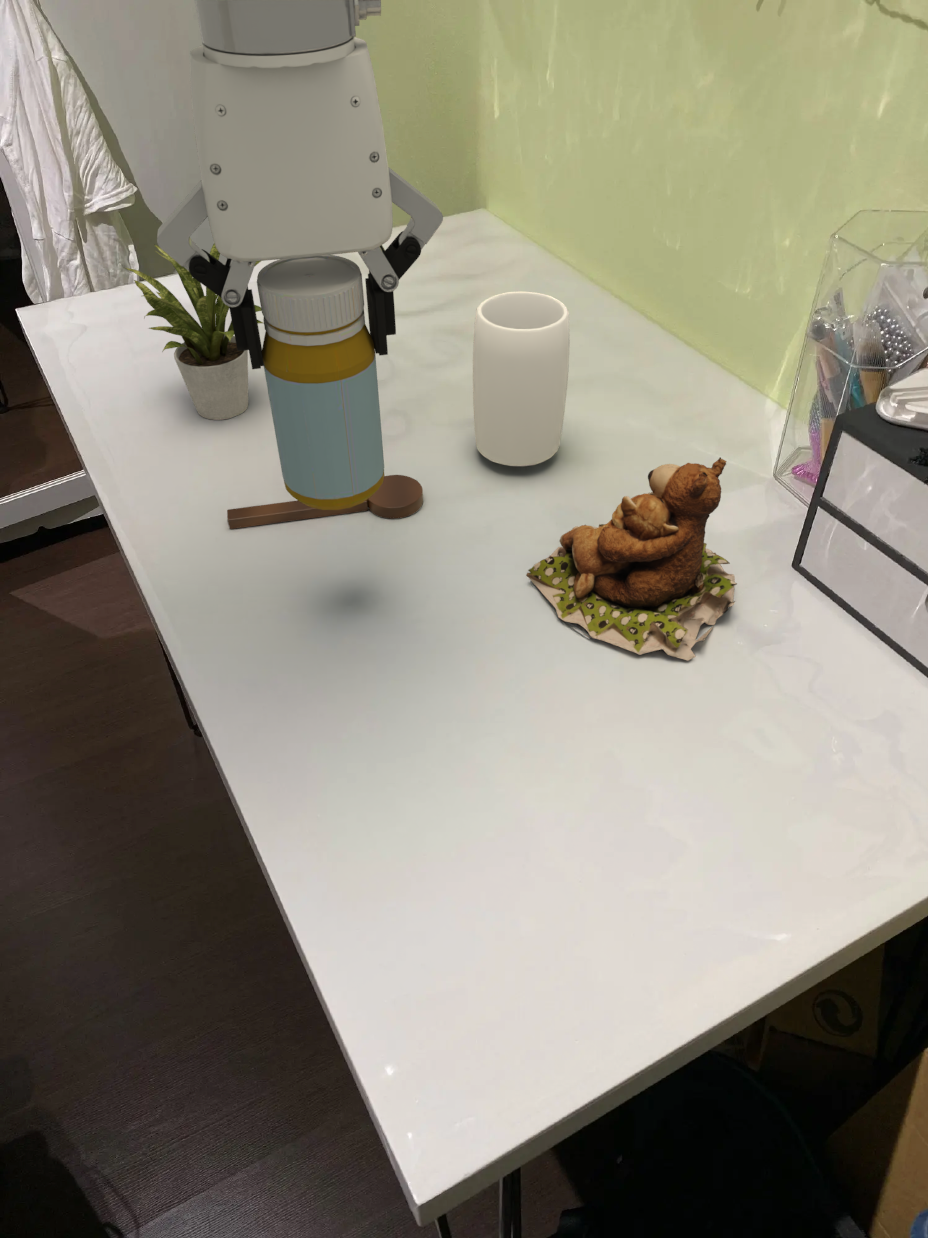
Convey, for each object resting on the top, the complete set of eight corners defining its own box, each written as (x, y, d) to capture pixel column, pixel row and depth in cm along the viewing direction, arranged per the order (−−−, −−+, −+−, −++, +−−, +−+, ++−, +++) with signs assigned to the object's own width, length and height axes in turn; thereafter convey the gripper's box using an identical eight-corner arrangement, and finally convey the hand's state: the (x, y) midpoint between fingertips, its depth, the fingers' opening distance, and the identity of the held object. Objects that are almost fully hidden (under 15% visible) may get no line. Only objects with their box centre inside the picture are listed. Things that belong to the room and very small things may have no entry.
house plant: (283, 358, 100) (259, 204, 89) (319, 418, 91) (297, 255, 80) (152, 385, 96) (109, 227, 85) (176, 450, 87) (131, 283, 76)
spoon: (230, 541, 77) (227, 530, 76) (228, 507, 80) (226, 496, 79) (427, 514, 79) (427, 503, 78) (417, 482, 83) (417, 471, 82)
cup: (509, 420, 90) (513, 280, 81) (579, 450, 86) (592, 306, 77) (454, 457, 86) (451, 313, 76) (525, 490, 82) (532, 343, 72)
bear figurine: (597, 515, 79) (611, 388, 71) (758, 583, 72) (796, 452, 64) (505, 598, 71) (510, 467, 63) (677, 684, 64) (707, 550, 56)
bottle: (403, 491, 63) (390, 279, 53) (314, 527, 60) (281, 309, 50) (354, 446, 67) (333, 242, 57) (268, 477, 64) (229, 267, 54)
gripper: (434, -6, 49) (442, 312, 61) (98, 11, 46) (177, 339, 58) (464, 22, 43) (466, 365, 56) (86, 43, 41) (175, 397, 53)
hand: (318, 349), depth 57 cm, fingers closed on bottle, 7 cm apart
